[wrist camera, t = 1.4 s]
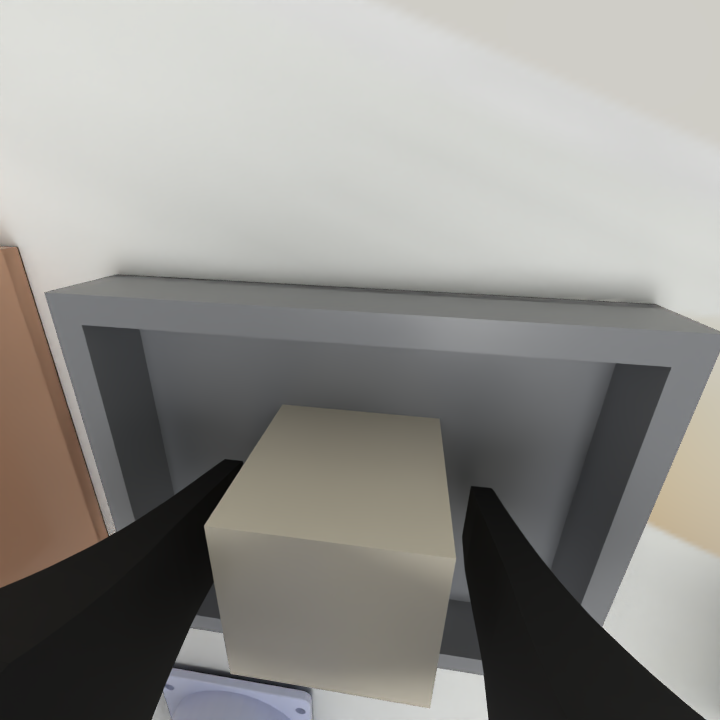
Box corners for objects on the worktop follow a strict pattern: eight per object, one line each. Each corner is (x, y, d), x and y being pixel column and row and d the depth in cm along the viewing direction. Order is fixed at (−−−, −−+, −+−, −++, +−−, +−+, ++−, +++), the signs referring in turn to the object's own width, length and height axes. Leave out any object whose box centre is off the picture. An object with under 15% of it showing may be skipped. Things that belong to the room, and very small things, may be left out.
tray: (550, 615, 15) (574, 690, 13) (180, 563, 17) (143, 620, 14) (656, 304, 10) (726, 334, 8) (116, 274, 12) (44, 292, 9)
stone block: (424, 538, 14) (429, 708, 9) (289, 521, 14) (230, 673, 10) (439, 419, 12) (456, 558, 7) (282, 404, 12) (203, 525, 8)
